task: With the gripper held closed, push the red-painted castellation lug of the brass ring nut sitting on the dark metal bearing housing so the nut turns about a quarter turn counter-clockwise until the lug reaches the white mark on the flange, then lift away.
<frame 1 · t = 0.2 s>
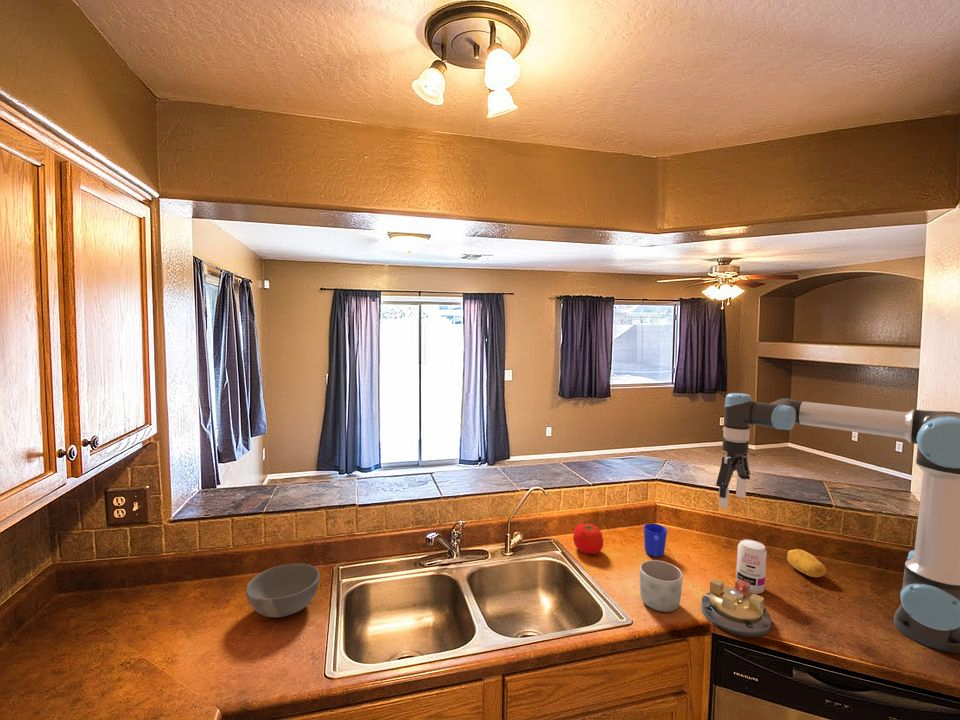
hand: (732, 501, 153), 28 cm above the counter, fingers open, 13 cm apart
potato: (804, 573, 161), on the counter
tomato: (587, 551, 174), on the counter
supplement can: (749, 588, 151), on the counter
bowl: (284, 610, 137), on the counter
mug: (654, 556, 171), on the counter
ring nut: (735, 598, 136), point 6 cm above the counter, hinge at 0.0°
housing: (734, 616, 136), on the counter
planter: (659, 604, 142), on the counter
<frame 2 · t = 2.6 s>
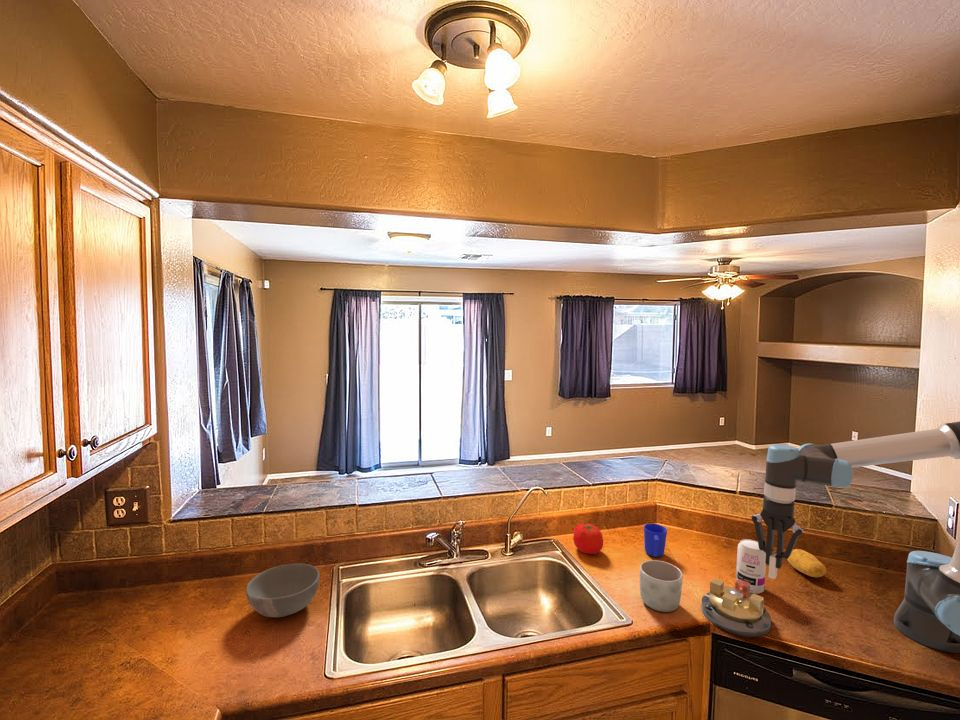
hand: (772, 576, 133), 14 cm above the counter, fingers closed
nothing on the counter moved.
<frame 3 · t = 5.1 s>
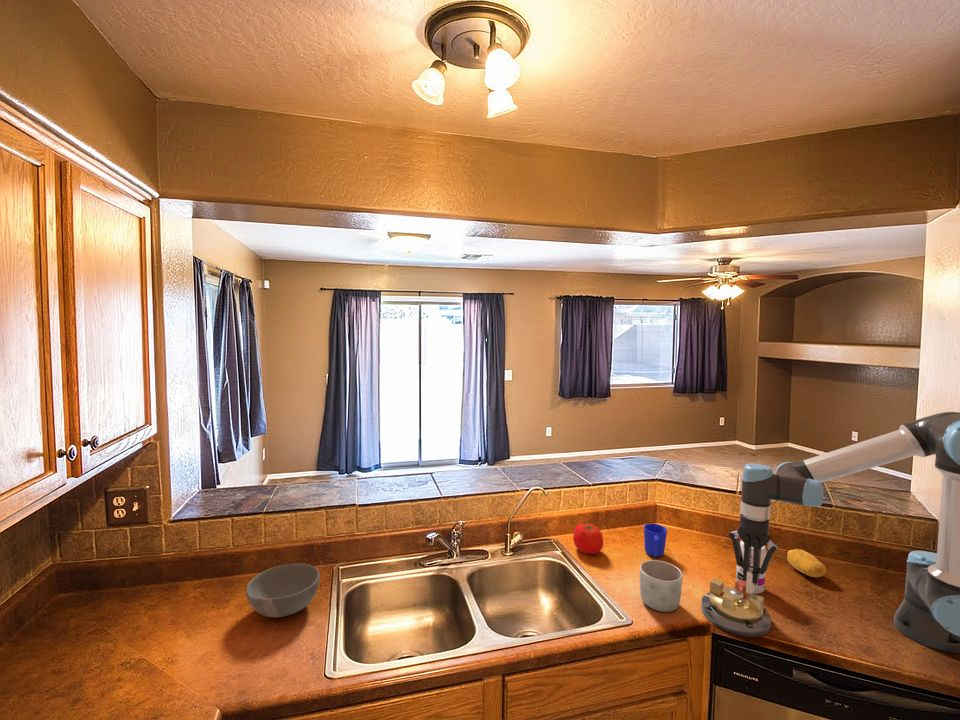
hand: (749, 591, 138), 7 cm above the counter, fingers closed
ring nut: (735, 598, 136), point 6 cm above the counter, hinge at 0.1°, touching gripper
everything else where it was.
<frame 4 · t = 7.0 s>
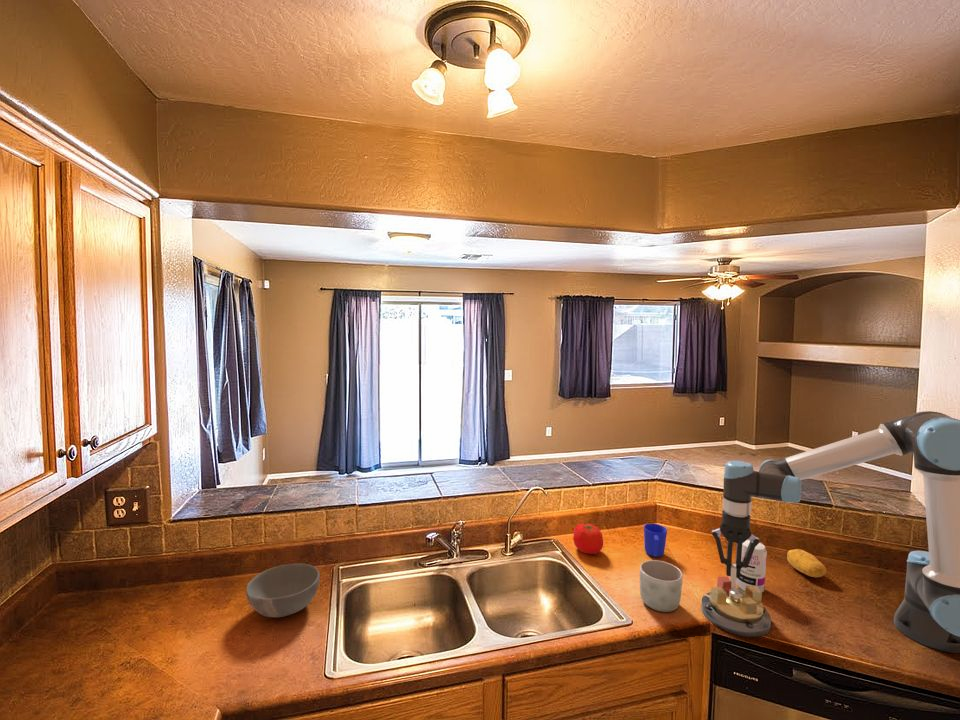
hand: (732, 586, 141), 6 cm above the counter, fingers closed
ring nut: (735, 598, 136), point 6 cm above the counter, hinge at 52.0°, touching gripper
everything else where it was.
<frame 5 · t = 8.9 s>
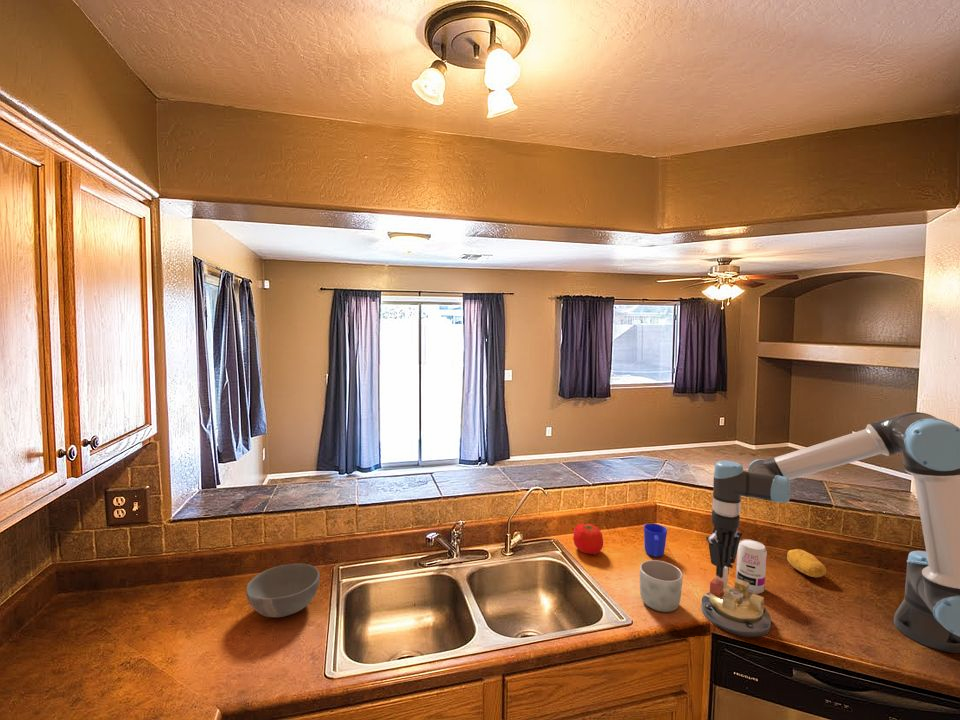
hand: (721, 585, 141), 6 cm above the counter, fingers closed
ring nut: (735, 598, 136), point 6 cm above the counter, hinge at 91.5°, touching gripper
everything else where it was.
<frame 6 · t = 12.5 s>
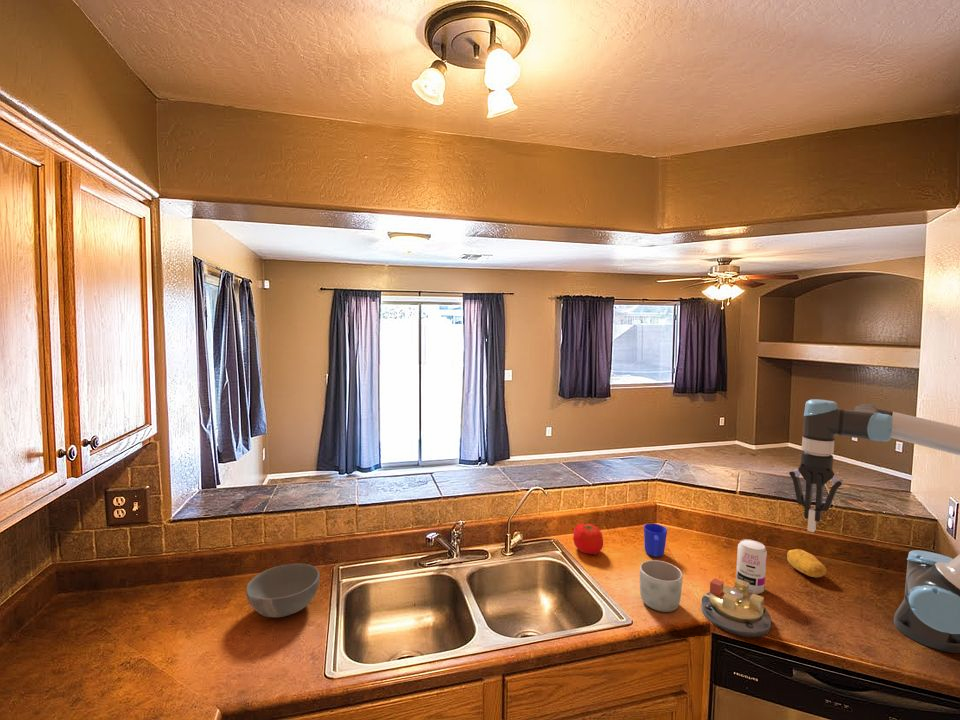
hand: (811, 530, 135), 26 cm above the counter, fingers closed
ring nut: (735, 598, 136), point 6 cm above the counter, hinge at 91.5°
everything else where it was.
at the end: ring nut at +92° (first picture: +0°) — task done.
